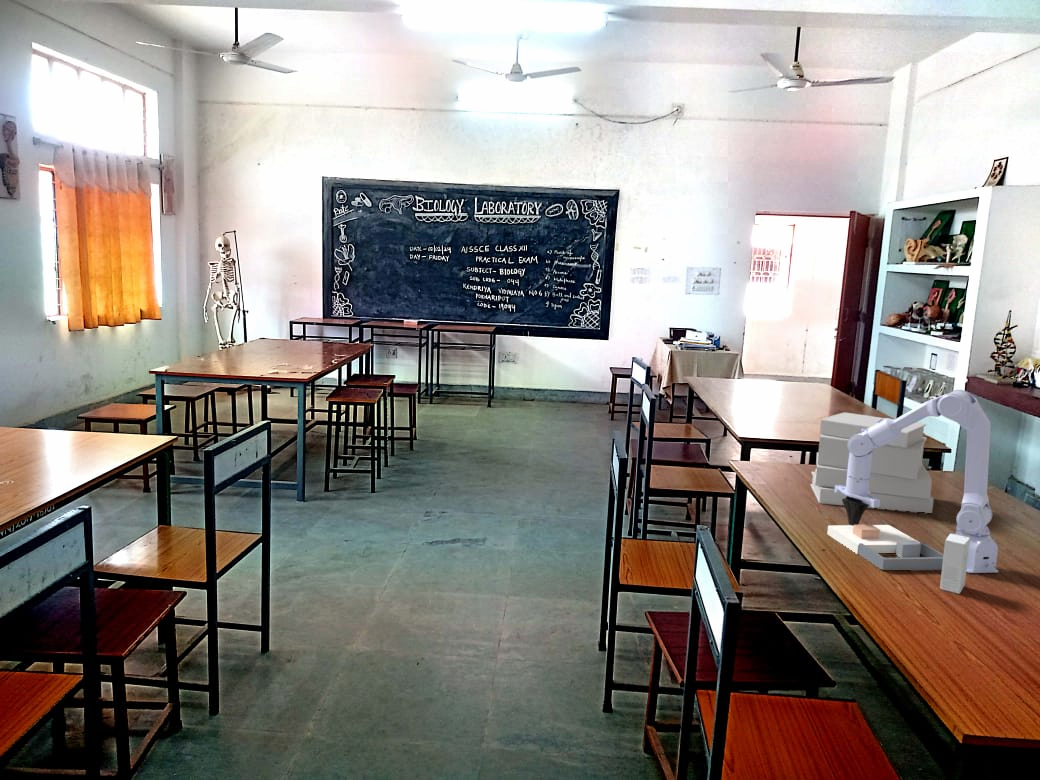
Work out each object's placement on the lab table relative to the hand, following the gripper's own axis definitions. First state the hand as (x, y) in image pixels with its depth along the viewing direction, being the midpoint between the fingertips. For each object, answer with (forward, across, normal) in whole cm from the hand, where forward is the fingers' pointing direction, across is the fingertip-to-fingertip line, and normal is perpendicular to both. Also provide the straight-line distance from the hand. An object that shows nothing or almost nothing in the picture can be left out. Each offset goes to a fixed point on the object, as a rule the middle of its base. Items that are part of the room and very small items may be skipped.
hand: (853, 524), depth 205 cm
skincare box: (+4, -34, +2) cm, 34 cm away
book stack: (+4, +28, -32) cm, 43 cm away
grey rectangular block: (+2, -15, -3) cm, 15 cm away
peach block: (+1, -6, +1) cm, 6 cm away
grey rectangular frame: (+3, -18, +1) cm, 18 cm away
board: (+3, -6, -2) cm, 7 cm away
